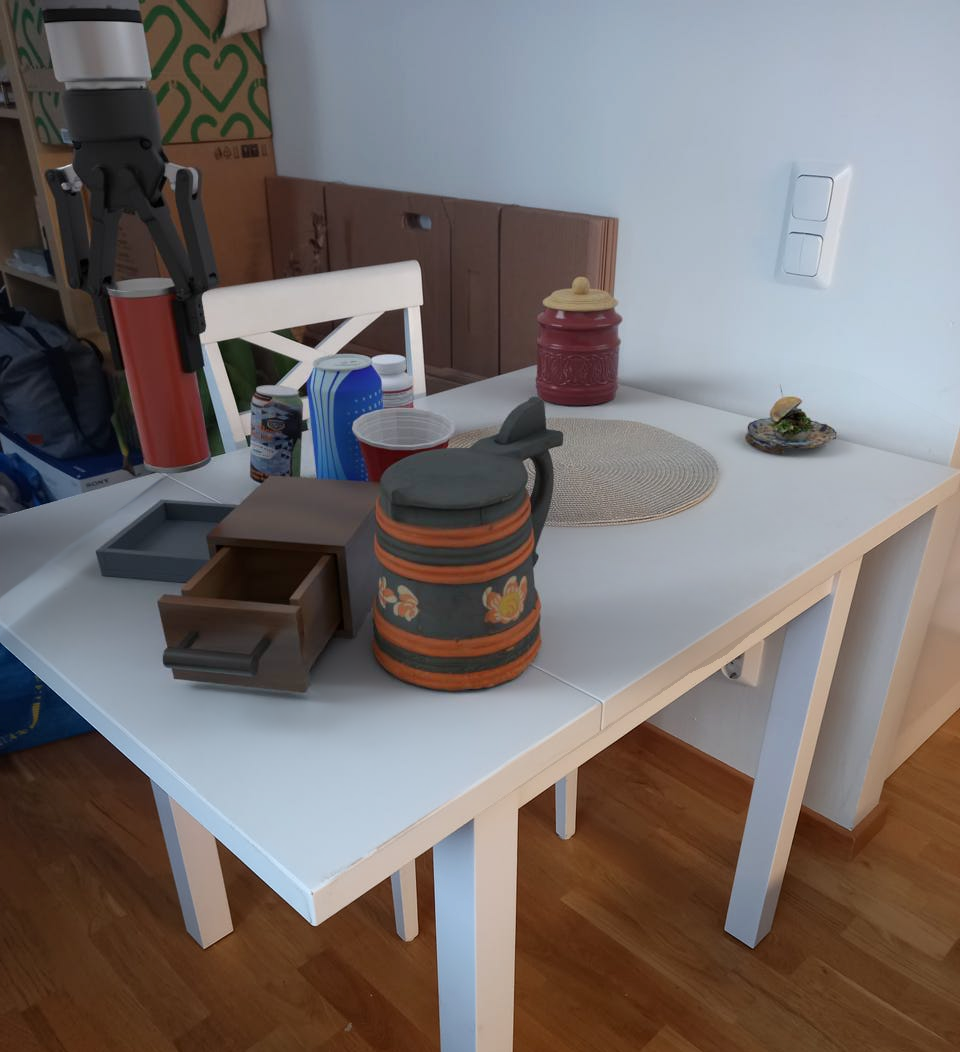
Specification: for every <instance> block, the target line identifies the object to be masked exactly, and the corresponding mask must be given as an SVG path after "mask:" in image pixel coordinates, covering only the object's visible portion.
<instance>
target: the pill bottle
mask: <svg viewBox="0 0 960 1052" xmlns="http://www.w3.org/2000/svg"><path fill="white" fill-rule="evenodd" d="M371 359H372V366H373V367H374V369H375V370H376V372H377V373H378V375H379V376H380V378H381V381H382V395H383V409H389V408H415V407H414V389H413V388H414V387H413V386H414V385H413V379H412V377H411V375H410V374H408V373H407V372H405V371H406V370H407V358H406V357H405V356H404V355H403V356H402V355H400V354H392V353H391V354H389V353H388V354H379V355H375V356H373V357H371Z"/></svg>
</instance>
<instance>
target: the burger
mask: <svg viewBox="0 0 960 1052" xmlns="http://www.w3.org/2000/svg"><path fill="white" fill-rule="evenodd" d="M779 386H780V388H782V386H781V384H779ZM780 392H781V396H782V397H781V398H779V399H778V400H777V401H776V402H775V403H774V404H773V406H772V408H771V409H770V412H769V417H768V418H766V417H765V418H759V419H755V420H753V421H751V422H749V424H748V425H747V428H746V429H747V433H746V434H745V441H746V442H747V444H749V445H750V446H752V447H753V448H755V449H758V450H760V451H762V452H765V453H773V454H776V455H782V454H783V453H784V452H785V451H786V449H799V450H806V449H807V450H808V449H814V448H818V447H820V446H821V447H822V446H825V445H826V444H828V443H830V442H831V441H834V440H836V439H837V431H836V430H835V429H834V428H833V427H831V426H830V425H828V424H826V423H821V422H819V421H814V420H812V419H811V417H808V416H807V414H806V412H805V411H804V410H802V408H798V407H799V406H800V405H801V404H802V403H803V400H802V399H801V398H799V397H797V396H783V395H784V394H783V390H782V389H780Z"/></svg>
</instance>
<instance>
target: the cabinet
mask: <svg viewBox="0 0 960 1052" xmlns="http://www.w3.org/2000/svg"><path fill="white" fill-rule="evenodd" d="M380 492H381V482H366V481H350V480H334V479H318V478H317V477H316V478H315V477H301V476H300V477H286V476H269V477H268V478H267V479H266V480H265V481H264V482H263V483H262V484H261V485H258V486H257V487H255V489H254V490H253V491H252V492H250V494H249V495H248V496H246V497H245V498H244V499H243V500H242V501H241V502H240V503H239V504H237V505H238V506H237V507H236V508H235V509H234V510H233V511H232V512H231V513H229V514H228V515H227V516H226V517H225V518H224V519H223V520H222V521H221V522H220V523H219V524H218V525H217V526H216V527H214V528H213V529H212V530H211V531H210V532H209V533H208V534H207V535H206V540H207V545H208V551H209V556H210V560H211V559H212V558H213V557H214V556H215V555H216V554H217V553H218V552H219V551H220V550H221V549H222V548H223V547H224V546H225V545H230V546H243V547H256V548H269V549H282V550H295V551H308V552H321V553H334V554H337V561H338V571H339V580H340V590H341V600H342V610H343V619H342V621H341V622H340V624H339V625H338V627H337V628H336V630H335V631H334V633H333V634H332V636H331V637H333V638H343V639H355V637H356V635H357V634H358V632H359V631H360V629H361V627H362V625H363V624H364V622H365V620H366V619H367V617H368V615H369V614H370V613H371V610H373V602H374V598H375V595H376V594H377V576H378V558H377V555H376V553H375V550H374V544H375V540H374V537H375V528H376V525H375V521H376V500H377V498H378V496H379V495H380Z"/></svg>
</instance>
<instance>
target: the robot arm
mask: <svg viewBox="0 0 960 1052" xmlns="http://www.w3.org/2000/svg"><path fill="white" fill-rule="evenodd" d="M38 2H39V3H38V4H39V6H40V8H41V16H42V21H43V23H44V30H45V34H46V39H47V43H48V44H47V45H48V49H49V53H50V58H51V63H52V68H53V72H54V77H55V79H56V80H57V82H59V83H64V86H65V90H62V91H61V95H59V100H60V104H61V109H62V114H63V118H64V122H65V128H66V132H67V136H68V137H69V139H70V141H71V143H72V146H73V154H72V159H71V164H70V163H69V164H67V165H65V166H61V167H54V168H48V169H46V170H45V171H44V178H45V181H46V183H47V185H48V187H49V189H50V192H51V194H52V197H53V199H54V203H55V210H56V216H57V221H58V229H59V235H60V242H61V248H62V255H63V261H64V266H65V267H64V268H65V274H66V275H65V276H66V280H67V284H68V286H69V287H70V288H71V290H80V291H83V292H85V293H87V294H88V295H89V296H90V298H91V300H92V304H93V308H94V314H95V318H96V323H97V327H98V328H99V330H100V332H101V333H106V334H107V338H108V344H109V348H110V354H111V358H112V363H113V368H114V371H125V368H124V364H123V359H122V354H121V350H120V345H119V340H118V335H117V331H116V326H115V321H114V316H113V312H112V307H111V302H110V297H109V294H108V291H107V286H108V285H110V284H112V283H115V274H116V273H115V272H116V262H117V249H118V240H119V239H118V237H119V227H120V220H121V218H122V217H123V214H124V210H127V211H130V212H136V213H137V216H138V218H139V220H140V221H141V222H142V223H143V224H145V226H146V228H147V230H148V232H149V234H150V236H151V238H152V240H153V243H154V245H155V247H156V249H157V251H158V253H159V255H160V257H161V259H162V262H163V264H164V266H165V268H166V270H167V272H168V275H169V276H170V279H172V281H173V283H174V285H175V287H176V289H177V292H178V294H179V295H177V296H175V297H176V299H174V300H172V306H173V311H174V317H175V323H176V328H177V334H178V339H179V345H180V351H181V356H182V362H183V367H184V373H193V372H195V371H196V372H197V371H199V370H200V369H202V368H204V367H205V365H206V364H205V360H204V353H203V348H202V347H203V346H202V342H201V335H202V334H203V333H206V329H207V322H206V317H205V310H204V304H203V295H204V294H205V293H206V292H209V291H211V290H213V289H215V288H218V287H219V286H220V283H221V281H220V275H219V271H218V267H217V262H216V259H215V253H214V249H213V245H212V240H211V237H210V232H209V228H208V223H207V219H206V215H205V210H204V205H203V202H202V197H201V196H202V185H203V184H202V183H203V173H202V170H201V169H200V168H199V167H198V166H189V167H185V166H183V165H179V164H175V163H172V162H171V161H170V159H169V157H168V155H167V154H166V152H165V150H164V148H163V145H162V127H161V122H160V115H159V109H158V103H157V97H156V93H153V90H152V89H147V84H146V82H149V81H150V80H151V79H152V77H153V76H152V69H151V63H150V57H149V51H148V47H147V39H146V35H145V29H144V24H143V18H142V13H141V8H140V2H139V0H38ZM167 180H168V181H169V183H170V184H169V189H170V190H171V191H172V192H174V198H175V199H174V200H175V205H176V211H177V214H178V218H179V219H178V220H179V223H180V226H181V230H182V234H183V239H184V243H185V245H184V243H183V241H182V239H181V237H180V234H179V232H178V230H177V227H176V225H175V223H174V221H173V219H172V217H171V208H170V206H169V203H168V202H167V200H166V197H165V195H164V193H163V189H164V188H165V185H166V182H167ZM83 185H84V186H85V187H86V188H87V190H88V191H89V192H90V200H89V217H90V218H91V230H90V241H89V233H88V225H87V218H86V212H85V205H84V199H83V195H82V191H81V190H82V188H83ZM185 247H186V248H185Z"/></svg>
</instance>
